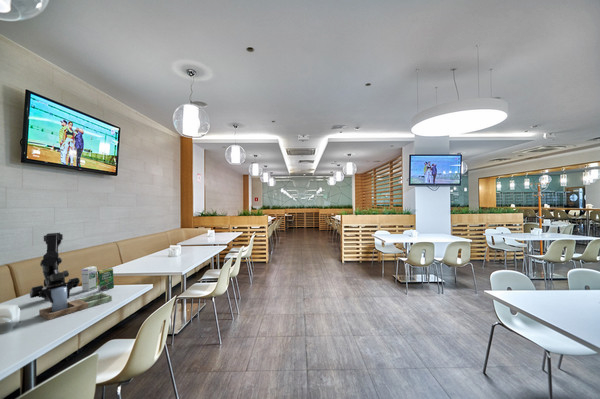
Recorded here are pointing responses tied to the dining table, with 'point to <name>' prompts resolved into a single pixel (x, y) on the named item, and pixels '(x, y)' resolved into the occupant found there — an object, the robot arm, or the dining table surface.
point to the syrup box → (89, 278)
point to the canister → (59, 299)
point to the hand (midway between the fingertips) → (60, 300)
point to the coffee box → (105, 279)
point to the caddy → (76, 305)
